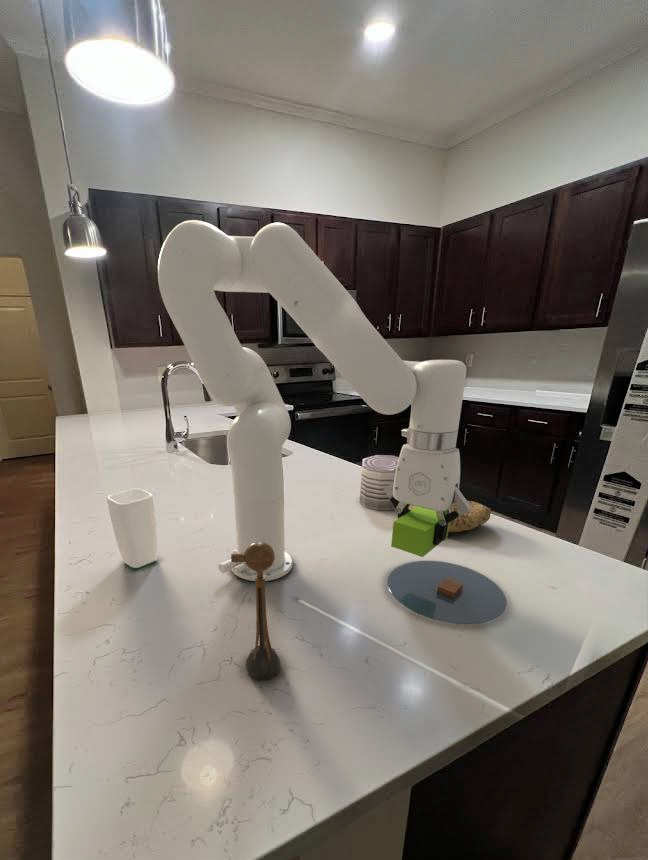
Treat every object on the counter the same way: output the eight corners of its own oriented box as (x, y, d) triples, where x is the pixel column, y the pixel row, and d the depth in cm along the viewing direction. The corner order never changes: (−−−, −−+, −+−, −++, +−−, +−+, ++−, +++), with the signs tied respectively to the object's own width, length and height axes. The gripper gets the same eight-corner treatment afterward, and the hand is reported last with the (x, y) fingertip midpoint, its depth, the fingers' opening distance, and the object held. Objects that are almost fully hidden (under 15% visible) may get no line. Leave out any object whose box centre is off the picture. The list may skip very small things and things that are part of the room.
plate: (480, 644, 63) (481, 641, 63) (366, 593, 76) (366, 590, 76) (521, 589, 76) (522, 586, 76) (417, 553, 89) (418, 550, 89)
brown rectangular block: (453, 598, 73) (454, 592, 72) (436, 592, 75) (437, 586, 74) (462, 589, 75) (463, 583, 75) (446, 582, 77) (447, 577, 77)
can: (410, 504, 114) (415, 461, 109) (381, 514, 108) (385, 469, 103) (378, 492, 123) (382, 452, 118) (350, 501, 117) (352, 459, 112)
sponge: (406, 542, 96) (502, 533, 90) (402, 509, 94) (499, 498, 89) (403, 528, 108) (488, 519, 103) (400, 499, 107) (485, 488, 101)
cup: (147, 549, 93) (137, 486, 87) (165, 561, 88) (155, 495, 82) (116, 561, 88) (103, 496, 82) (133, 574, 83) (120, 505, 77)
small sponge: (422, 557, 71) (426, 531, 69) (391, 546, 75) (393, 521, 73) (447, 537, 78) (451, 512, 76) (417, 528, 82) (419, 504, 80)
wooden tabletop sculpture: (238, 680, 57) (229, 552, 49) (239, 656, 62) (232, 534, 54) (281, 679, 57) (279, 550, 49) (279, 655, 62) (277, 533, 54)
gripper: (374, 436, 72) (368, 530, 79) (477, 452, 61) (459, 560, 68) (395, 429, 77) (388, 518, 84) (495, 442, 66) (477, 544, 73)
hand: (420, 536), depth 76 cm, fingers closed on small sponge, 6 cm apart
